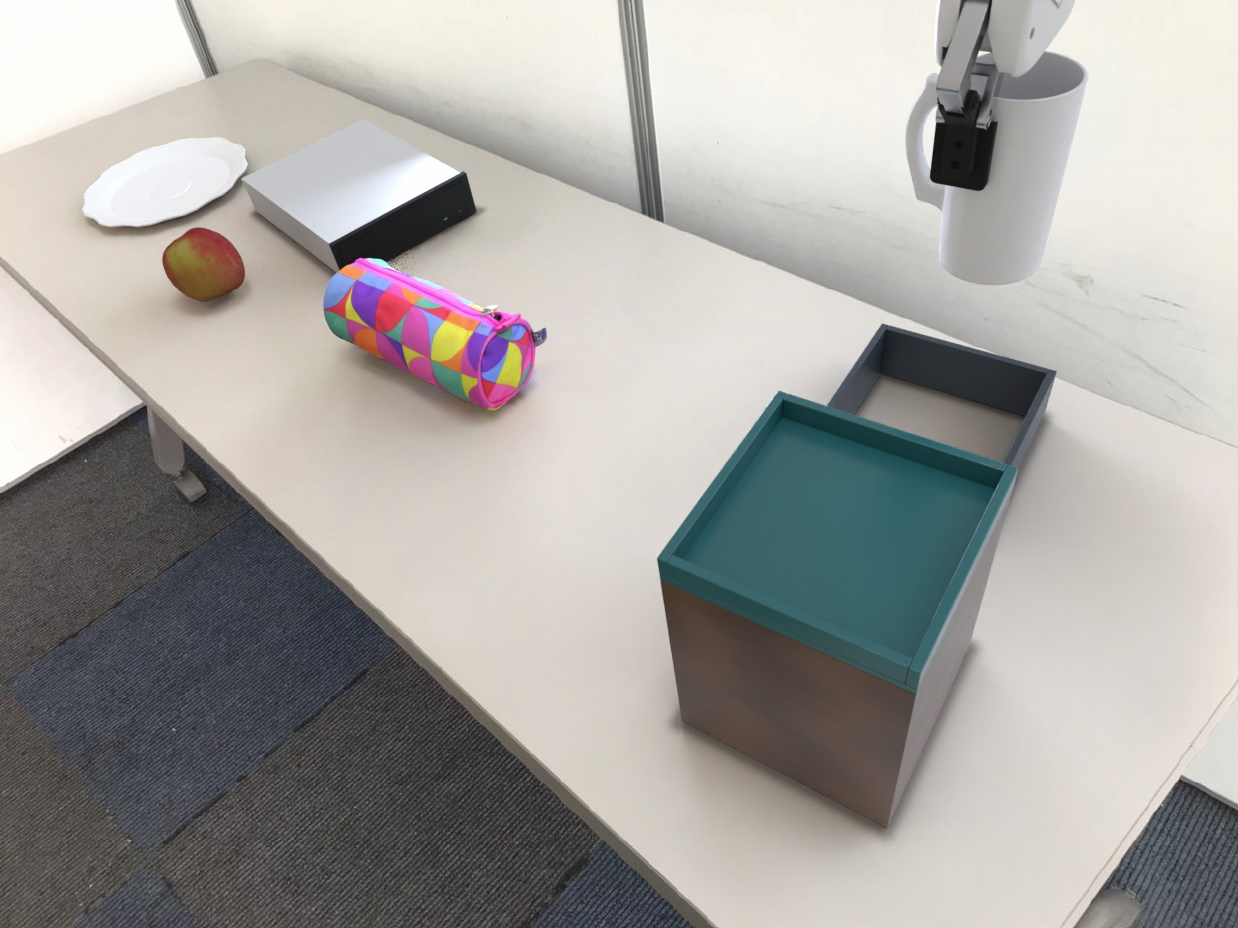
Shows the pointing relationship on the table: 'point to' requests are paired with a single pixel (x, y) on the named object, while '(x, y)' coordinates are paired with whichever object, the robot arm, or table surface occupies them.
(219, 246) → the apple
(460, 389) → the pencil case
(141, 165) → the plate
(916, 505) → the tray
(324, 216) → the disc drive
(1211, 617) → the table surface
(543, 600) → the table surface
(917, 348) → the dark gray square frame
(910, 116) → the mug
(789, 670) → the riser
